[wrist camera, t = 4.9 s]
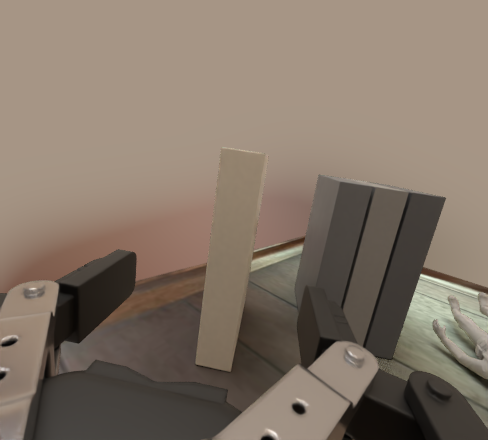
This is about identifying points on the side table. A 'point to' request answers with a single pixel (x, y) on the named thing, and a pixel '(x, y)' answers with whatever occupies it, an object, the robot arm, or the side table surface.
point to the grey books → (368, 254)
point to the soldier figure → (483, 341)
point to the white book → (230, 254)
